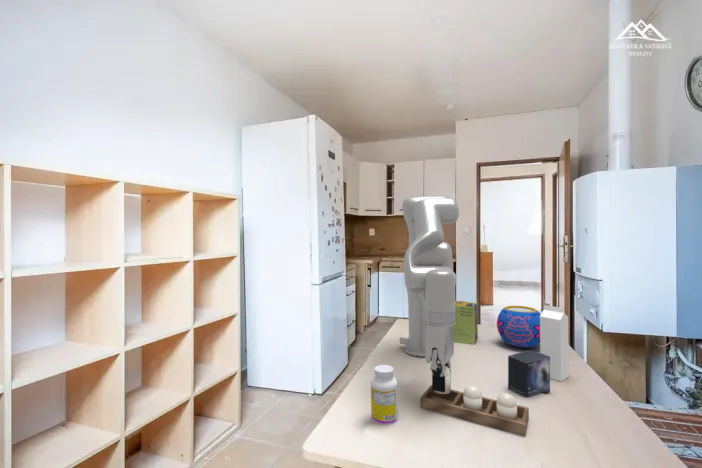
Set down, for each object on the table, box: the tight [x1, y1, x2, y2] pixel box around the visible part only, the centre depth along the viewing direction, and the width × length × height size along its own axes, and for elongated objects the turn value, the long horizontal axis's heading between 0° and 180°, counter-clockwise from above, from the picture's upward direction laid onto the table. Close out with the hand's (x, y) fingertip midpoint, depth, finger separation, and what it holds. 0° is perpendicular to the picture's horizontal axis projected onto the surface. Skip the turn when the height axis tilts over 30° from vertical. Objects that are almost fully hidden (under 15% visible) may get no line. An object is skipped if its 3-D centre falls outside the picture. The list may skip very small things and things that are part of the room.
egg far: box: [496, 392, 518, 421], centre depth 80 cm, size 4×4×7 cm
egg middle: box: [462, 384, 483, 412], centre depth 84 cm, size 4×4×7 cm
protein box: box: [453, 300, 479, 345], centre depth 145 cm, size 10×15×16 cm
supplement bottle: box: [370, 364, 399, 426], centre depth 83 cm, size 7×7×13 cm
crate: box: [419, 384, 530, 438], centre depth 84 cm, size 24×9×3 cm, turn 58°
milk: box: [539, 304, 570, 382], centre depth 107 cm, size 6×6×22 cm
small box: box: [507, 349, 551, 399], centre depth 96 cm, size 11×6×10 cm, turn 117°
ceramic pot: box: [496, 305, 542, 349], centre depth 135 cm, size 18×18×15 cm
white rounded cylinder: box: [434, 365, 452, 394], centre depth 88 cm, size 4×4×7 cm
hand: (441, 386), depth 88 cm, fingers closed on white rounded cylinder, 4 cm apart
